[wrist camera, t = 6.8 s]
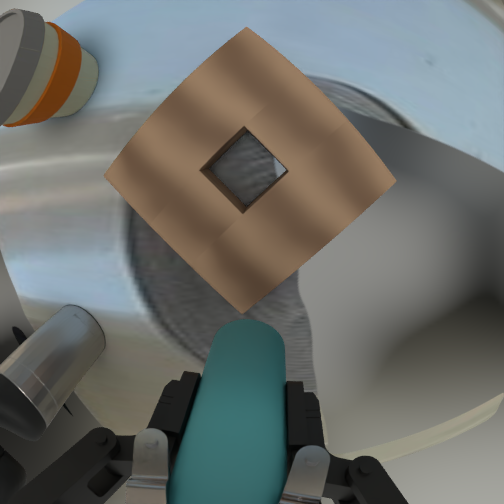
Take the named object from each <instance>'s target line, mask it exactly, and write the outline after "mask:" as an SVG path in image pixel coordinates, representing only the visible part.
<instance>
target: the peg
mask: <svg viewBox="0 0 504 504" xmlns="http://www.w3.org/2000/svg"><path fill="white" fill-rule="evenodd" d="M286 482H287V428H286V367H285V345H284V341H283V339H282V337H281V335H280V334H279V333H278V332H277V331H276V330H275V329H274V328H273V327H271V326H270V325H268V324H266V323H263V322H260V321H257V320H250V319H243V320H236V321H233V322H230V323H228V324H226V325H224V326H223V327H221V328H220V329H219V330H218V332H217V333H216V335H215V337H214V339H213V342H212V345H211V349H210V352H209V355H208V358H207V361H206V364H205V367H204V371H203V374H202V377H201V380H200V383H199V386H198V390H197V393H196V396H195V399H194V402H193V406H192V409H191V412H190V415H189V418H188V422H187V425H186V428H185V431H184V434H183V438H182V441H181V444H180V447H179V451H178V454H177V457H176V461H175V464H174V467H173V470H172V474H171V479H170V491H169V504H279V502H280V499H281V496H282V493H283V490H284V487H285V485H286Z"/></svg>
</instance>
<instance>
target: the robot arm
mask: <svg viewBox="0 0 504 504" xmlns="http://www.w3.org/2000/svg"><path fill="white" fill-rule="evenodd" d="M104 347H105V339H104V335H103V332H102V330H101V328H100V327H99V325H98V324H97V322H96V321H95V320H94V319H93V317H92V316H91V315H90V314H88V313H87V312H86V311H85V310H83V309H81V308H79V307H77V306H73V305H67V306H64V307H63V308H62V309H61V310H60V311H58V312H57V313H56V314H55V315H54V316H53V317H51V318H50V319H49V320H48V321H47V322H46V323H44V324H43V325H42V326H41V327H40V328H39V329H38V330H37V331H35V332H34V333H33V334H32V335H31V336H30V337H29V338H28V339H27V340H26V341H25V342H23V343H22V344H21V345H20V346H19V347H18V348H17V349H16V350H15V351H14V352H13V353H12V354H11V355H10V356H9V357H8V358H7V359H6V360H5V361H4V362H3V363H2V364H1V365H0V427H3V428H5V429H7V430H9V431H11V432H13V433H15V434H17V435H18V436H20V437H22V438H24V439H27V440H30V441H37V440H38V439H39V438H40V437H41V436H42V434H43V433H44V431H45V430H46V428H47V427H48V425H49V424H50V422H51V421H52V419H53V418H54V417H55V415H56V414H57V412H58V411H59V409H60V408H61V406H62V405H63V404H64V402H65V401H66V399H67V398H68V397H69V395H70V394H71V392H72V391H73V390H74V388H75V387H76V386H77V384H78V383H79V382H80V380H81V379H82V377H83V376H84V375H85V373H86V372H87V371H88V369H89V368H90V367H91V366H92V364H93V363H94V362H95V360H96V359H97V358H98V357H99V355H100V354H101V353H102V351H103V350H104ZM200 380H201V375H200V373H194V372H188V371H184V372H183V374H182V377H181V379H180V381H177V380H172V381H170V382H169V383H168V384H167V385H166V386H165V388H164V390H163V392H162V394H161V397H160V399H159V402H158V404H157V406H156V408H155V411H154V413H153V415H152V417H151V420H150V422H149V425H148V427H147V428H146V429H144V430H142V431H140V432H139V433H138V434H137V435H133V436H118V435H115V434H114V432H113V431H111V430H110V429H108V428H104V427H99V428H95V429H93V430H91V431H90V432H89V433H88V434H87V435H86V436H84V437H83V438H82V439H81V440H80V441H79V442H77V443H76V444H75V445H74V446H73V447H71V448H70V449H69V450H68V451H67V452H65V453H64V454H63V455H62V456H61V457H60V458H58V459H57V460H56V461H55V462H54V463H52V464H51V465H50V466H49V467H48V468H46V469H45V470H44V471H43V472H41V473H40V474H39V475H38V476H37V477H35V478H34V479H33V480H32V481H30V482H29V483H28V484H27V485H25V484H26V478H27V475H26V471H25V469H24V467H23V466H22V465H21V464H20V463H19V462H18V461H16V459H14V458H13V457H12V456H11V455H10V454H9V453H8V452H7V451H4V448H2V446H0V504H104V503H105V502H106V501H107V500H108V499H109V498H110V497H111V496H112V495H113V494H114V493H115V492H116V491H117V490H118V489H119V488H120V487H121V485H123V484H124V483H125V481H126V480H127V479H128V478H129V477H130V476H132V477H131V479H129V480H128V481H127V484H126V502H125V503H126V504H169V491H170V479H171V474H172V470H173V467H174V464H175V461H176V457H177V454H178V451H179V447H180V444H181V441H182V438H183V434H184V431H185V428H186V425H187V422H188V418H189V415H190V412H191V409H192V406H193V402H194V399H195V396H196V393H197V390H198V386H199V383H200ZM286 428H287V482H286V485H285V487H284V490H283V493H282V496H281V499H280V502H279V504H321V497H326V498H331V499H332V500H333V502H334V503H335V504H408V502H407V501H406V499H405V498H404V497H403V495H402V494H401V492H400V491H399V490H398V488H397V487H396V485H395V484H394V482H393V481H392V480H391V478H390V477H389V475H388V474H387V472H386V471H385V469H384V468H383V467H382V466H381V464H380V462H379V461H378V460H377V459H375V458H374V457H371V456H360V457H357V458H355V459H354V460H347V459H342V458H338V457H335V456H333V455H332V454H330V453H329V452H328V451H327V449H326V447H325V444H324V437H323V429H322V421H321V413H320V406H319V400H318V399H317V397H316V396H315V394H314V393H313V392H304V388H303V382H301V381H287V382H286Z"/></svg>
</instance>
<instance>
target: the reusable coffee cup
mask: <svg viewBox="0 0 504 504" xmlns="http://www.w3.org/2000/svg"><path fill="white" fill-rule="evenodd" d="M97 80H98V64H97V61H96V60H95V58H94V57H93V56H92V55H91V54H89V53H88V52H87V51H85V50H84V49H83V48H81V47H80V44H79V43H78V41H77V40H76V39H75V38H74V37H72V36H71V35H70V34H68V33H67V32H66V31H64V30H63V29H61V28H60V27H59V26H57V25H56V24H55V23H51V22H44V20H43V18H42V16H41V15H40V14H38V13H34V12H30V11H25V10H20V9H11V10H9V11H7V12H5V13H3V14H2V15H1V16H0V126H1V125H3V126H6V127H15V126H21V125H26V124H33V123H39V122H42V121H45V120H47V119H49V118H53V117H63V116H69V115H72V114H74V113H76V112H77V111H78V110H80V109H81V108H82V107H83V106H84V105H85V104H86V103H87V101H88V100H89V98H90V97H91V95H92V93H93V91H94V89H95V86H96V83H97Z"/></svg>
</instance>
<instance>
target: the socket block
mask: <svg viewBox="0 0 504 504" xmlns="http://www.w3.org/2000/svg"><path fill="white" fill-rule="evenodd" d="M247 131H249V132H250V133H251V134H252V135H253V136H254V137H255V138H256V139H257V140H258V141H259V142H260V143H261V144H262V145H263V146H264V147H265V148H266V149H267V150H268V151H269V152H270V153H271V154H272V155H273V156H274V157H275V158H276V159H277V160H278V161H279V162H280V163H281V164H282V165H283V167H285V169H286V171H285V172H284V173H283V174H282V175H281V176H280V177H278V178H277V179H276V180H275V181H274V182H273V183H272V184H271V185H270V186H269V187H268V188H266V189H265V190H264V191H263V192H262V193H261V194H260V195H259V196H258V197H257V198H256V199H255V200H254V201H253V202H251V203H250V204H249V205H248V206H247V207H246V206H245V205H244V204H243V203H242V202H241V201H240V200H239V199H238V198H237V197H236V196H235V195H234V194H233V193H232V192H231V191H230V190H229V189H228V188H227V187H226V186H225V185H224V184H223V183H222V182H221V181H220V180H219V179H218V178H217V177H216V176H215V175H214V174H213V173H212V172H211V171H210V170H209V168H210V167H211V166H212V165H213V164H214V163H215V162H216V161H217V160H218V159H219V158H220V157H221V156H222V155H223V154H224V153H225V152H226V151H227V150H228V149H229V148H230V147H231V146H232V145H233V144H234V143H235V142H236V141H237V140H238V139H239V138H240V137H241V136H242V135H243V134H245V133H246V132H247ZM104 177H105V178H106V179H107V180H108V181H109V182H110V184H111V185H112V186H113V187H114V188H115V189H116V190H117V191H118V192H119V193H120V194H121V196H122V197H123V198H124V199H125V200H126V201H127V202H128V203H129V204H130V205H131V206H132V207H133V208H134V209H135V210H136V211H137V213H138V214H139V215H140V216H141V217H142V218H143V219H144V220H145V221H146V222H147V223H148V224H149V225H150V226H151V227H152V228H153V229H154V230H155V231H156V232H157V233H158V234H159V235H160V236H161V237H162V238H163V239H164V240H165V241H166V242H167V243H168V244H169V245H170V246H171V247H172V248H173V249H174V250H175V251H176V252H177V253H178V254H179V255H180V256H181V257H182V258H183V259H184V260H185V261H186V262H187V263H188V264H189V265H190V266H191V267H192V268H193V269H194V270H195V271H196V272H197V273H198V274H199V275H200V276H201V277H202V278H204V279H205V280H206V281H207V282H208V283H209V284H210V285H211V286H212V287H213V288H214V289H215V290H216V291H217V292H218V293H219V294H220V295H222V296H223V297H224V298H225V299H226V300H227V301H228V302H229V303H230V304H231V305H232V306H233V307H235V308H236V309H237V310H238V311H239V312H240V313H241V314H243V313H244V312H246V311H247V310H248V309H249V308H251V307H252V306H253V305H254V304H256V303H257V302H258V301H259V300H261V299H262V298H263V297H264V296H266V295H267V294H268V293H269V292H271V291H272V290H273V289H274V288H275V287H277V286H278V285H279V284H280V283H281V282H283V281H284V280H285V279H286V278H288V277H289V276H290V275H291V274H292V273H294V272H295V271H296V270H297V269H298V268H299V267H301V266H302V265H303V264H304V263H305V262H307V261H308V260H309V259H310V258H311V257H312V256H314V255H315V254H316V253H317V252H318V251H319V250H321V249H322V248H323V247H324V246H325V245H326V244H328V243H329V242H330V241H331V240H332V239H333V238H334V237H336V236H337V235H338V234H339V233H340V232H341V231H342V230H344V229H345V228H346V227H347V226H348V225H349V224H350V223H351V222H352V221H354V220H355V219H356V218H357V217H358V216H359V215H360V214H362V213H363V212H364V211H365V210H366V209H367V208H368V207H369V206H370V205H371V204H373V203H374V202H375V201H376V200H377V199H378V198H379V197H380V196H381V195H382V194H383V193H384V192H386V191H387V190H388V189H389V188H390V187H391V186H392V185H393V184H394V183H395V182H396V180H395V178H394V177H393V175H392V174H391V173H390V171H389V170H388V169H387V167H386V166H385V165H384V163H383V162H382V161H381V159H380V158H379V157H378V155H377V154H376V153H375V151H374V150H373V149H372V148H371V146H370V145H369V144H368V143H367V142H366V140H365V139H364V138H363V137H362V135H361V134H360V133H359V132H358V131H357V130H356V128H355V127H354V126H353V125H352V124H351V123H350V121H349V120H348V119H347V118H346V117H345V116H344V115H343V114H342V113H341V112H340V111H339V109H338V108H337V107H336V106H335V105H334V104H333V103H332V102H331V101H330V100H329V99H328V98H327V97H326V96H325V95H324V94H323V93H322V91H321V90H320V89H319V88H317V87H316V86H315V85H314V84H313V83H312V82H311V81H310V80H309V79H308V78H307V77H306V76H305V75H304V74H303V73H302V72H301V71H300V70H299V69H298V68H296V67H295V66H294V65H293V64H292V63H291V62H290V61H289V60H287V59H286V58H285V57H284V56H283V55H282V54H281V53H279V52H278V51H277V50H276V49H275V48H273V47H272V46H271V45H270V44H268V43H267V42H266V41H265V40H263V39H262V38H261V37H260V36H258V35H257V34H256V33H254V32H253V31H252V30H251V29H249V28H248V27H245V28H244V29H243V30H242V31H240V32H239V33H238V34H236V35H235V36H234V37H233V38H231V39H230V40H229V41H228V42H226V43H225V44H224V45H223V46H222V47H220V48H219V49H218V50H217V51H216V52H214V53H213V54H212V55H211V56H210V57H209V58H208V59H206V60H205V61H204V62H203V63H202V64H201V65H200V66H199V67H198V68H197V69H196V70H194V71H193V72H192V73H191V74H190V75H189V76H188V77H187V78H186V79H185V80H184V81H183V82H182V83H181V84H180V85H179V86H178V87H177V88H176V89H175V90H174V91H173V92H172V93H171V94H170V95H169V96H168V97H167V98H166V99H165V100H164V102H163V103H162V104H161V105H160V106H159V107H158V108H157V109H156V110H155V111H154V112H153V114H152V115H151V116H150V117H149V118H148V119H147V120H146V122H145V123H144V124H143V125H142V126H141V127H140V129H139V130H138V131H137V132H136V133H135V135H134V136H133V137H132V138H131V140H130V141H129V142H128V143H127V145H126V146H125V147H124V148H123V150H122V151H121V152H120V154H119V155H118V156H117V158H116V159H115V160H114V162H113V163H112V164H111V166H110V167H109V169H108V170H107V171H106V173H105V174H104Z"/></svg>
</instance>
